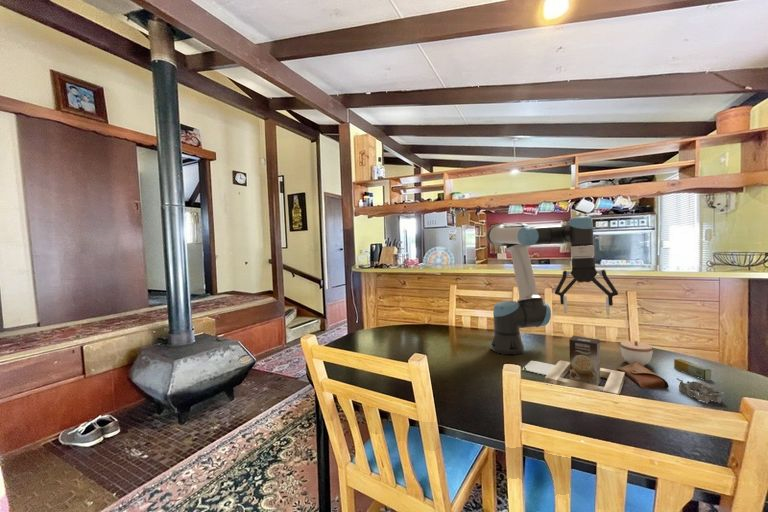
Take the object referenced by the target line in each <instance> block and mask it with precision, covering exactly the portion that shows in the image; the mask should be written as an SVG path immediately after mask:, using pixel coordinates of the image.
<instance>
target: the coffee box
mask: <svg viewBox="0 0 768 512" xmlns="http://www.w3.org/2000/svg"><path fill="white" fill-rule="evenodd" d="M569 362H570V371H569V379H570V380H574V381H579V382H583V383H588V384H592V385H597V386H600V383H601V377H600V368H601V339H597V338H592V337H586V336H581V335H579V336H578V335H572V336H571V337H570V338H569Z"/></svg>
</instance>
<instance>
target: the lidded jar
mask: <svg viewBox="0 0 768 512" xmlns="http://www.w3.org/2000/svg"><path fill="white" fill-rule="evenodd" d="M619 344H620V353H621V356H622V358H623V359H624V360H625V361H626V362H627V364H628V365H629V364H631V363H634V362H635V361H636V362H637V363H638V364H640V365H642V366H643V367H645V366H646V365H647V364H649V363H650V361H652V359H653V358H652V357H653V351H654V347H653V346H652V345H651V344H648V343H646V342H643V341H642V342H641V341H638V340H634V341H633V340H625V341H621V342H620V343H619Z"/></svg>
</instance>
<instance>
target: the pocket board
mask: <svg viewBox="0 0 768 512" xmlns="http://www.w3.org/2000/svg"><path fill="white" fill-rule="evenodd" d="M554 365H555V366H554V367H553V369H552V370H551V371H550V372H549V373H548V374H547V375H546V376H544V383H545V382H547V383H553V384H560V385H564V386H571V387H577V388H583V389H589V390H595V391H601V392H608V393H613V394H620V395H621V392H622V389H623V386H624V383H625V379H626V378H625V377H626V375H625V372H620V371H618V370H614V369H609V368H603V367H600V378H605V379H607V380H606V382H605V385H604V386H602V385H601V386H600V385H598V386H597V385H592V384H588V383H583V382H579V381H574V380H570V378H564V377H566V375H567V373H568V372H570V361H566V360H559V361H557V362H556V364H554Z"/></svg>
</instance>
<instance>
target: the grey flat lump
mask: <svg viewBox="0 0 768 512" xmlns="http://www.w3.org/2000/svg"><path fill="white" fill-rule="evenodd" d="M676 380H677V381H678V382H679V384H678V391H679V390H680V392H681V393H683V392H684V393H686V395H687V396H688V395H689V397H691V396H695V397H696V398H695V397H694V398H695V400H696V399H698V400H702V401H705V402H709V403H710V401H709V400H713V401H716V402H720V403H719V404H722V395H723V394H725V392H722V391H721V390H718V389H717V388H715V387H712V386H710V385H708V384H707V383H706V382H704V381H694V380H692V381H690V380H687V382H684V380H683V379H680V378H678V377H677V378H676ZM691 388H694V390H693V389H691ZM696 389H698V390H696ZM698 393H699V395H698ZM716 402H715V403H716Z"/></svg>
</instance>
